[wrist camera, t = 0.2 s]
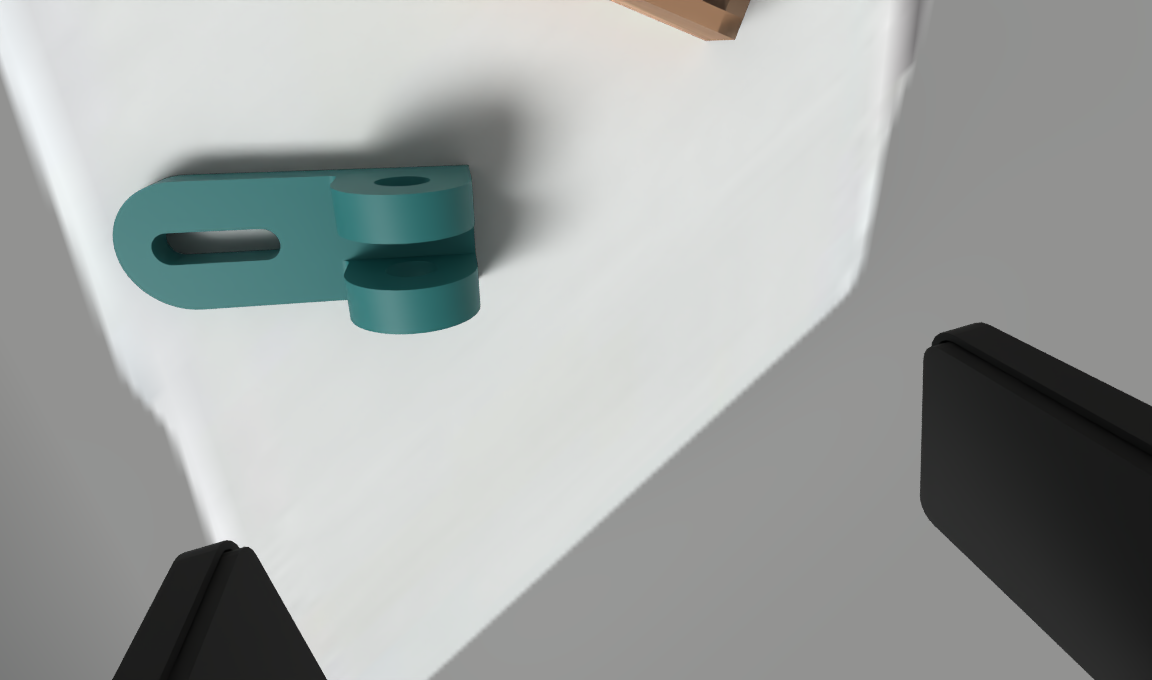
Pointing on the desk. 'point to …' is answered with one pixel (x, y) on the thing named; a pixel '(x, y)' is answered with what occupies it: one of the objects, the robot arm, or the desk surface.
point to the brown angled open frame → (695, 15)
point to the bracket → (314, 243)
